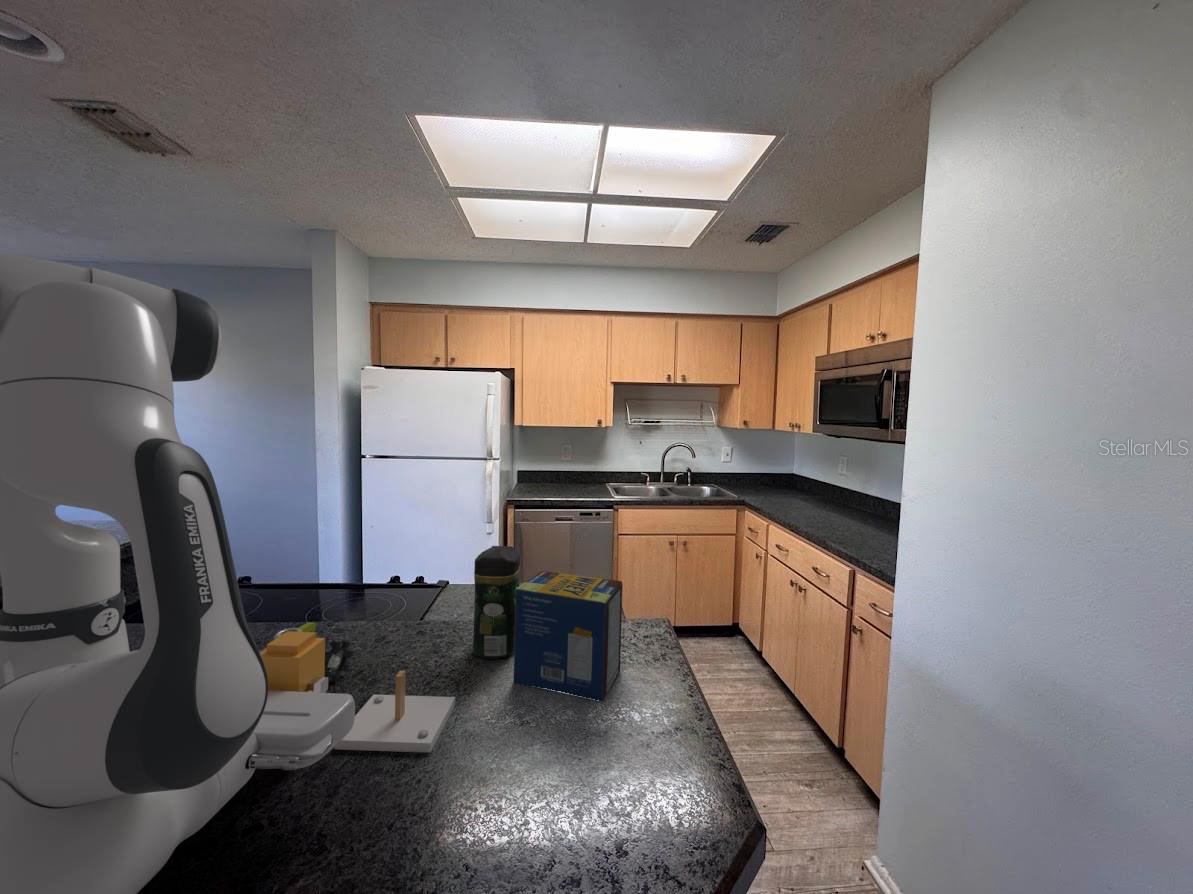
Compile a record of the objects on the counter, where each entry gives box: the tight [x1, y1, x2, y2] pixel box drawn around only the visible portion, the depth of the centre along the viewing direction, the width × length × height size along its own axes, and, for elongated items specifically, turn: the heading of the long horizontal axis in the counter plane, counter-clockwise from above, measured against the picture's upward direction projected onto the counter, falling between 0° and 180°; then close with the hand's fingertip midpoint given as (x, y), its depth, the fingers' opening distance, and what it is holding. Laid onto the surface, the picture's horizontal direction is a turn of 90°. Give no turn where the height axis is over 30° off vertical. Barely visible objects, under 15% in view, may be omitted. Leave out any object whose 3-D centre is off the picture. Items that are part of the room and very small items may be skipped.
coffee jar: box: [472, 545, 521, 660], centre depth 86 cm, size 10×8×19 cm
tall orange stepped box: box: [260, 631, 326, 692], centre depth 56 cm, size 5×5×12 cm
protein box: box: [513, 570, 623, 701], centre depth 77 cm, size 10×15×16 cm
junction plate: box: [334, 670, 456, 753], centre depth 63 cm, size 12×10×7 cm
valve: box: [273, 627, 354, 684], centre depth 74 cm, size 7×7×12 cm
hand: (296, 681), depth 57 cm, fingers closed on tall orange stepped box, 5 cm apart
